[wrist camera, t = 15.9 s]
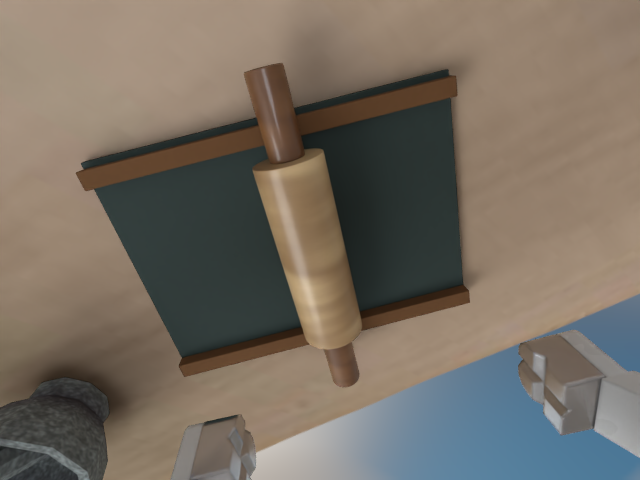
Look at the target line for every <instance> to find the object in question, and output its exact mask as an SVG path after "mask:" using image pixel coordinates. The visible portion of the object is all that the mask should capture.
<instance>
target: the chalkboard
mask: <svg viewBox="0 0 640 480" xmlns="http://www.w3.org/2000/svg"><path fill="white" fill-rule="evenodd" d="M455 96H457V82H456V76H449V70H448V69H447V70H442V71H438V72H434V73H430V74H426V75H422V76H418V77H414V78H410V79H407V80H403V81H399V82H395V83H391V84H387V85H383V86H379V87H375V88H371V89H367V90H363V91H360V92H356V93H352V94H348V95H344V96H340V97H336V98H332V99H328V100H324V101H320V102H316V103H313V104H309V105H305V106H301V107H297V108H294V110H295V114H296V118H297V122H298V126H299V130H300V134H301V138H302V142H303V146H304V149H313V148H317V149H322V150H323V151H324V155H325V159H326V164H327V168H328V173H329V177H330V182H331V186H332V191H333V195H334V200H335V204H336V209H337V213H338V218H339V222H340V227H341V231H342V236H343V240H344V244H345V249H346V253H347V258H348V262H349V267H350V271H351V276H352V280H353V285H354V289H355V294H356V298H357V303H358V307H359V312H360V316H361V321H362V329H361V331H363V330H366V329H370V328H374V327H378V326H382V325H386V324H389V323H393V322H397V321H401V320H405V319H409V318H412V317H416V316H420V315H424V314H428V313H432V312H435V311H439V310H443V309H447V308H451V307H455V306H458V305H462V304H466V303H469V302H470V299H469V290H468V289H467V288H466V287H465V286H464V285H463V277H462V262H461V247H460V232H459V218H458V203H457V188H456V173H455V159H454V144H453V129H452V114H451V100H450V98H451V97H455ZM266 159H268V156H267V152H266V149H265V145H264V142H263V139H262V135H261V132H260V128H259V125H258V121H257V118H254V119H250V120H246V121H242V122H238V123H234V124H230V125H226V126H222V127H218V128H215V129H211V130H207V131H203V132H199V133H195V134H191V135H187V136H183V137H179V138H175V139H171V140H168V141H164V142H160V143H156V144H152V145H148V146H144V147H140V148H136V149H132V150H128V151H124V152H121V153H117V154H113V155H109V156H105V157H101V158H97V159H93V160H89V161H85V162H82V163H81V165H82V167H83V169H84V170H81V171H79V172H76V175H77V177H78V178H79V180H80V182H81V184H82V186H83V188H84V190H85V191H88V190H92V189H94V190H95V192H96V194H97V196H98V198H99V199H100V201H101V203H102V205H103V207H104V209H105V211H106V213H107V215H108V217H109V219H110V221H111V223H112V224H113V226H114V228H115V230H116V232H117V234H118V236H119V238H120V240H121V242H122V244H123V246H124V247H125V249H126V251H127V253H128V255H129V257H130V259H131V261H132V263H133V265H134V267H135V269H136V271H137V272H138V274H139V276H140V278H141V280H142V282H143V284H144V286H145V288H146V290H147V292H148V294H149V295H150V297H151V299H152V301H153V303H154V305H155V307H156V309H157V311H158V313H159V315H160V317H161V319H162V320H163V322H164V324H165V326H166V328H167V330H168V332H169V334H170V336H171V338H172V340H173V342H174V343H175V345H176V347H177V349H178V351H179V353H180V355H181V357H182V359H181V362H180V364H179V368H180V370H181V372H182V373H183V375H184V377H186V376H190V375H194V374H198V373H201V372H205V371H209V370H213V369H217V368H221V367H224V366H228V365H232V364H236V363H240V362H244V361H247V360H251V359H255V358H259V357H263V356H267V355H270V354H274V353H278V352H282V351H286V350H290V349H293V348H297V347H301V346H305V345H309V343H308V342H307V340H306V338H305V336H304V332H303V329H302V326H301V323H300V320H299V317H298V313H297V310H296V307H295V304H294V301H293V298H292V294H291V291H290V288H289V285H288V282H287V279H286V275H285V272H284V269H283V266H282V263H281V260H280V256H279V253H278V250H277V247H276V244H275V241H274V237H273V234H272V231H271V228H270V225H269V221H268V218H267V215H266V212H265V209H264V206H263V202H262V199H261V196H260V193H259V190H258V187H257V183H256V180H255V177H254V174H253V171H252V168H253V167H254V166H255V165H256V164H258V163H260V162H262V161H264V160H266Z"/></svg>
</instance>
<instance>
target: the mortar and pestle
mask: <svg viewBox="0 0 640 480" xmlns="http://www.w3.org/2000/svg"><path fill="white" fill-rule="evenodd" d="M108 415H109V406H108V399H107V396H106V395H104V394H103V393H102V392H101V391H100V390H98V389H97V388H96V387H95V386H94V385H92V384H91V383H89V382H84V381H80V380H75V379H71V378H67V377H64V378H60V379H55V380H51V381H46V382H42V383H41V384H40V386H39V387H38V388H37V389H36V390H35V392H34V393H33V394H32V395H31V396H30V398H29V399H25V400H21V401H16V402H12V403H9V404H7V405H5V406H3V407H0V480H103V476H104V472H105V469H106V465H107V462H108V458H107V446H106V439H105V432H104V426H103V423H104V421H105V420H106V418H107V417H108Z"/></svg>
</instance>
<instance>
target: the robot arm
mask: <svg viewBox="0 0 640 480" xmlns="http://www.w3.org/2000/svg"><path fill="white" fill-rule="evenodd" d="M519 355H520V356H521V357H522V358H523V360H522V361H521V363H520V364H519V365H518V370H519V377H520V380H521V383H522V385H523V387H524V388H525V390H526V392H527V393H528V394H529V396H530V397H531V398H532V399H533V400H534V401H536V402H539V403H541V404H543V413H544V415H545V416H546V417H547V418H548V420H549V421H550V422H551V424H552V425H553V426H554V427H555V429H556V430H557V431H558V432H559V433H560V435H566V434H570V433H575V432H580V431H584V430H589V429H594V431H596V432H598V433H599V434H601V435H603V436H604V437H606V438H608V439H609V440H611V441H613V442H614V443H616V444H618V445H619V446H621V447H623V448H624V449H626V450H628V451H629V452H631V453H633V454H634V455H636V456H638V457H639V458H640V373H638V372H635V371H630V372H627V371H626V370H625V369H624V368H623V367H621V366H620V365H619V364H618V363H617V362H615V361H614V360H613V359H612V358H610V357H609V356H608V355H607V354H606V353H604V352H603V351H602V350H601V349H599V348H598V347H597V346H596V345H594V343H592V342H591V341H590V340H589V339H587V338H586V337H585V336H584V335H582V334H581V333H580V332H579V331H576V330H571V331H567V332H563V333H559V334H556V335H551V336H547V337H543V338H539V339H535V340H531V341H528V342H524V343H521V344H520V346H519ZM255 468H256V450H255V444H254V440H253V437H252V435H251V433H250V432H249V431H247V430H245V420H244V419H243V417H242V415H234V416H230V417H225V418H221V419H216V420H212V421H207V422H204V423H199V424H195V425H191V426H188V427H187V429H186V430H185V432H184V435H183V438H182V442H181V445H180V448H179V452H178V455H177V459H176V462H175V466H174V469H173V473H172V476H171V479H170V480H251V478H250V476H251V475H252V473H253V471H254V470H255Z"/></svg>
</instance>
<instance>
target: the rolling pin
mask: <svg viewBox="0 0 640 480" xmlns="http://www.w3.org/2000/svg"><path fill="white" fill-rule="evenodd" d="M244 77H245V80H246V84H247V87H248V91H249V94H250V97H251V101H252V104H253V108H254V111H255V115H256V118H257V121H258V125H259V128H260V132H261V135H262V139H263V142H264V145H265V149H266V152H267V156H268V159H266V160H264V161H262V162H260V163H258V164H256V165H255V166H254V167H253V168H252V171H253V174H254V177H255V180H256V183H257V187H258V190H259V193H260V196H261V199H262V202H263V206H264V209H265V212H266V215H267V218H268V221H269V225H270V228H271V231H272V234H273V237H274V241H275V244H276V247H277V250H278V253H279V256H280V260H281V263H282V266H283V269H284V272H285V275H286V279H287V282H288V285H289V288H290V291H291V294H292V298H293V301H294V304H295V307H296V310H297V313H298V317H299V320H300V323H301V326H302V329H303V332H304V336H305V338H306V340H307V342H308V343H309V344H310V345H312V346H313V347H316V348H319V349H324V351H325V354H326V358H327V361H328V365H329V368H330V371H331V375H332V378H333V381H334V383H335V384H336V385H338V386H340V387H349V386H352V385H353V384H355V383H356V382H357V380H358V379H359V370H358V366H357V362H356V358H355V354H354V350H353V346H352V341H353V340H354V339H355V338H356V337H357V336H358V335H359V333H360V331H361V329H362V321H361V316H360V312H359V307H358V303H357V298H356V294H355V289H354V285H353V280H352V276H351V271H350V267H349V262H348V258H347V253H346V249H345V244H344V240H343V236H342V231H341V227H340V222H339V218H338V213H337V209H336V204H335V200H334V195H333V191H332V186H331V182H330V177H329V173H328V168H327V164H326V159H325V155H324V151H323V150H322V149H317V148H313V149H304V146H303V142H302V138H301V134H300V130H299V126H298V122H297V118H296V114H295V110H294V106H293V102H292V98H291V94H290V89H289V85H288V81H287V77H286V73H285V69H284V65H283V63H278V64H273V65H268V66H264V67H260V68H256V69H253V70H250V71H247V72H245V73H244Z"/></svg>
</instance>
